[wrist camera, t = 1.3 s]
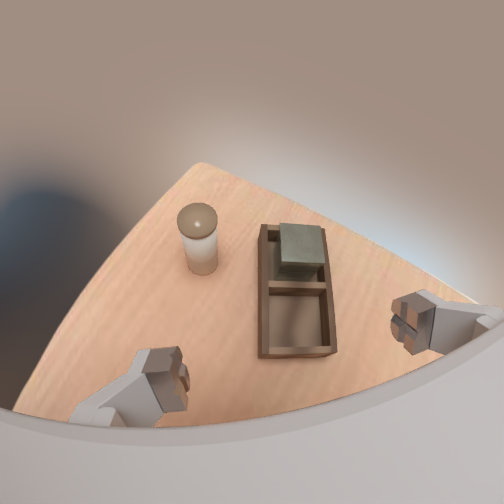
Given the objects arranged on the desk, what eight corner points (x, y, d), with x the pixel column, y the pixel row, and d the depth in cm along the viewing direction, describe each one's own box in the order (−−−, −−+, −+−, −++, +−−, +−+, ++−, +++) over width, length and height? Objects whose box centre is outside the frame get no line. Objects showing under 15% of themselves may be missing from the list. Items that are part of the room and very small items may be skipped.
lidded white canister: (185, 275, 46) (174, 235, 35) (189, 247, 48) (180, 202, 37) (217, 277, 46) (215, 237, 35) (219, 248, 49) (218, 203, 38)
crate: (257, 358, 40) (262, 354, 36) (258, 239, 50) (261, 224, 46) (325, 356, 41) (337, 352, 37) (316, 243, 51) (324, 228, 47)
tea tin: (272, 282, 45) (281, 261, 39) (271, 248, 48) (279, 222, 42) (310, 283, 46) (325, 263, 39) (307, 250, 49) (320, 225, 42)
